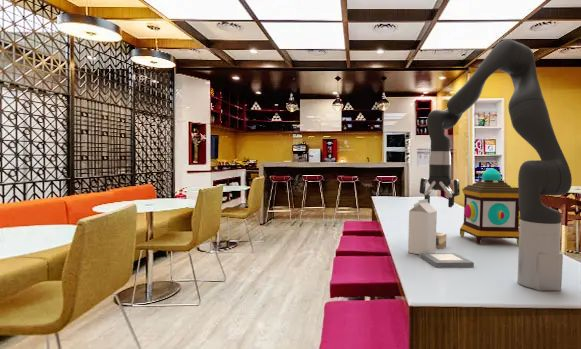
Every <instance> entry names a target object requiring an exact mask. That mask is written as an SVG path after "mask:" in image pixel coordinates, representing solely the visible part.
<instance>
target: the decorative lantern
mask: <svg viewBox="0 0 581 349" xmlns="http://www.w3.org/2000/svg"><path fill="white" fill-rule="evenodd" d="M461 191H462V193H463V196H464V198H463V199H464V203H463V206H464V207H463V208H464V209H463V223H462V224H461V227H460V229H459V235H460V237H464V235H465V233H466V234H468V235H471V236H473V237H475V239H476V244H477V245H479V246H480V245H481V243H482V240H483V239H516V244H517V246H519V226H520V211H519V191H518V187H514V186H513V187H512V186H511V185H509V184H508V183H507V182H505V180H504V179H503V180H502V176H501V173H500V172H499V171H498V170H497V169H495V168H493V167H492V168H487V169H486V170H485V171H484V172H483V173H482V176H481V179H479V180H478V181H475V182H474V183H472V184H467V186H465V187H463V188H462V189H461Z"/></svg>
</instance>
